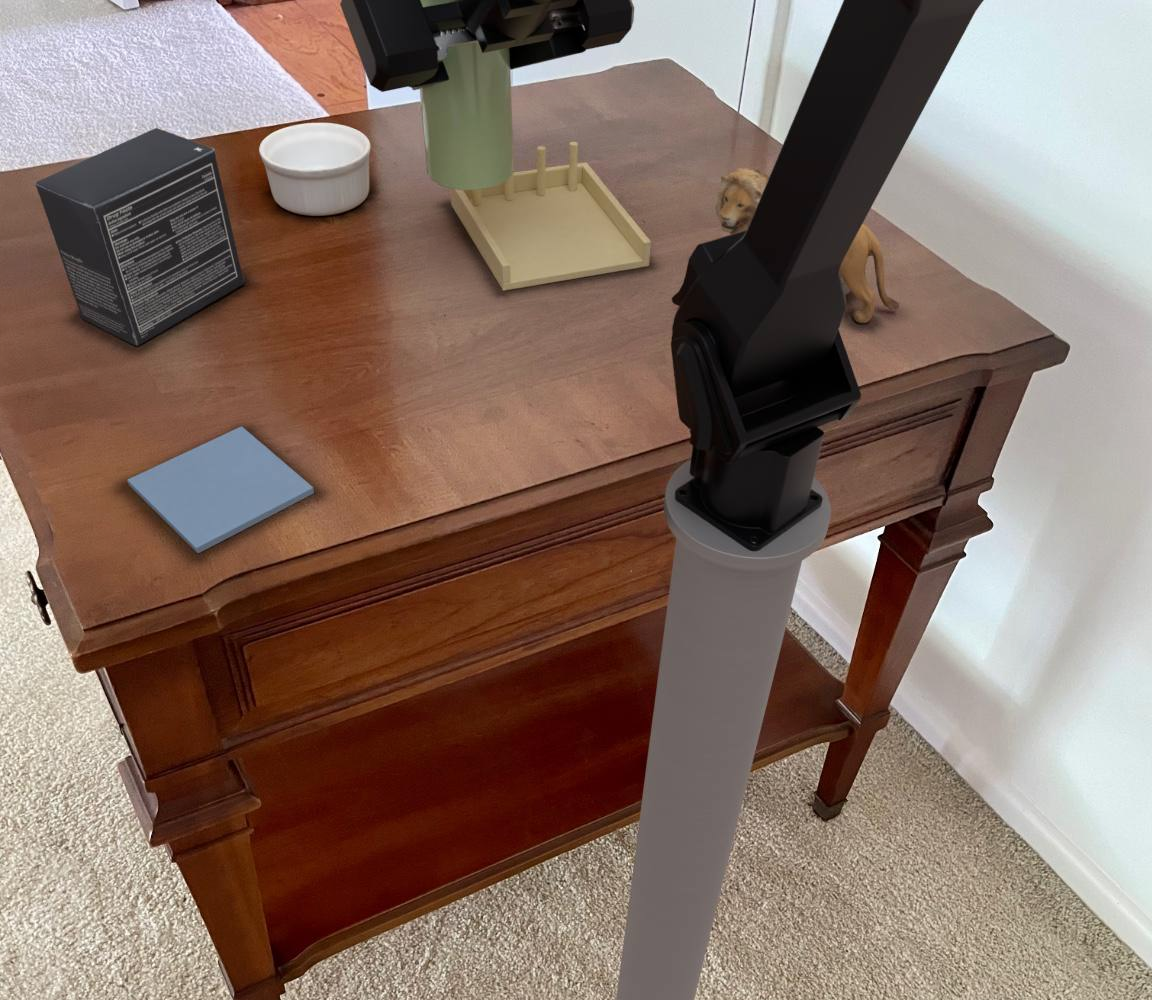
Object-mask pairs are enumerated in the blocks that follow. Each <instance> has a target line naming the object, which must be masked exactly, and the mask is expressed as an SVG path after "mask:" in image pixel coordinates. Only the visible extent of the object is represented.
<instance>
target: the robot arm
mask: <svg viewBox="0 0 1152 1000" xmlns="http://www.w3.org/2000/svg"><path fill="white" fill-rule="evenodd" d="M984 1H985V0H843V1H842V3H841V5H840V8H839V10H838V12H837V15H836V18H835V20H834V22H833V24H832V27H831V30H830V32H829V34H828V37H827V39H826V41H825V43H824V46H823V48H822V50H821V53H820V55H819V57H818V60H817V63H816V65H815V67H814V70H813V72H812V74H811V76H810V78H809V79H810V80H809V82H808V83H807V84H808V85H807V86H806V89H805V91H804V93H803V96H802V99H801V101H800V103H799V106H798V108H797V109H796V111H795V112H796V113H795V114H794V117H793V119H792V122H791V124H790V126H789V129H788V132H787V134H786V136H785V139H784V141H783V144H782V146H781V148H780V151H779V153H778V155H777V158H776V159H775V162H774V165H773V167H772V170H771V172H770V174H769V176H768V177H769V179H768V181H767V184H766V186H765V189H764V191H763V193H762V196H761V198H760V201H759V203H758V205H757V208H756V210H755V212H754V215H753V217H752V220H751V222H750V224H749V227H748V229H747V230H745V231H741V232H738V233H735V234H729V235H725V236H722V237H717V238H715V239H711V240H708V241H704V242H702V243H698V244H697V245H696V247H695V248H694V250H693V252H692V253H691V255H690V256H689V257H688V261H687V266H686V271H685V275H684V276H685V277H684V279H683V282H682V284H681V286H680V287H679V290H678V291H677V292H676V293H675V294H674V295H673V296H672V297H671V303H672V304H673V305H675V306H678V308H677V310H676V312H675V314H674V317H673V321H672V326H671V339H670V351H671V360H672V368H673V377H674V385H675V395H676V403H677V405H676V406H677V411H678V419H679V421H680V422H681V423H682V424H683V425H684V426H686V428H688V430H689V433H690V437H689V445H691V446H692V449H691V456H690V459H691V463H690V475H692V476H693V477H694V478H693V479H691V480H690V481H688V482H687V483H685V484H684V485H682V486H680V487H679V488H677V489H676V491H675V500H676V501H677V502H679V503H680V504H682V505H683V506H685V507H686V508H688V509H689V510H690V511H692V512H693V513H695V514H696V515H698V516H699V517H701V518H702V519H704V520H705V521H707V522H708V523H710V524H711V525H712V526H714V527H715V528H717V529H718V530H720V531H721V532H723V533H724V534H726V535H727V536H729V537H730V538H732V539H733V540H734V541H736V542H737V543H739V544H740V545H742V546H743V547H745V548H746V549H748V550H750V551H759V550H761V549H762V548H763V547H765V546H766V545H768V544H769V543H770V542H772V541H773V540H775V539H776V538H777V537H779V536H780V535H782V534H783V533H784V532H786V531H787V530H789V529H790V528H791V527H793V526H794V525H796V524H797V523H798V522H800V521H801V520H803V519H804V518H805V517H807V516H808V515H810V514H811V513H812V512H814V511H815V510H817V509H818V508H819V507H820V506H821V504H822V500H823V498H822V496H821V495H820V494H818V493H817V492H815V491H813V490H812V489H811V487H812V483H813V479H814V477H815V474H816V470H817V466H818V461H819V458H820V454H821V449H822V445H823V440H824V436H825V431H824V430H822V429H821V428H819V427H821V426H824V425H827V424H830V423H832V422H835V421H837V420H838V421H843V420H844V419H847V418H848V417H850V414H851V413H852V412H853V410H854V409H855V408H856V406H857V405H858V404H859V402H860V400H861V398H862V394H861V390H860V387H859V384H858V381H857V378H856V375H855V372H854V369H853V368H852V364H851V361H850V358H849V355H848V352H847V350H846V349H847V348H846V347H845V344H844V341H843V338H842V335H841V332H840V330H839V329H840V327H841V323H842V321H843V318H844V315H845V312H846V309H847V305H848V304H847V303H848V301H847V296H846V295H845V292H844V287H843V284H844V282H843V280H842V278H841V273H840V266H841V263H842V261H843V259H844V257H845V255H846V254H847V252H848V250H849V248H850V246H851V244H852V242H853V240H854V239H855V237H856V235H857V233H858V231H859V229H860V227H861V225H862V224H863V223H864V222H865V220H866V218H867V217H868V215H869V212H870V211H871V208H872V207H873V205H874V203H875V201H876V199H877V197H878V195H879V194H880V192H881V190H882V188H883V186H884V184H885V183H886V180H887V178H888V176H889V175H890V173H891V171H892V169H893V167H894V166H895V164H896V161H897V160H898V158H899V157H900V154H901V152H902V151H903V149H904V147H905V145H906V143H907V141H908V139H909V137H910V136H911V133H912V132H913V130H914V128H915V126H916V124H917V122H918V120H919V119H920V117H921V115H922V113H923V111H924V109H925V108H926V106H927V104H928V101H929V100H930V98H931V96H932V94H933V92H934V91H935V89H936V87H937V85H938V84H939V81H940V79H941V78H942V76H943V73H944V72H945V70H946V68H947V65H948V64H949V63H950V61H951V58H952V57H953V55H954V54H955V51H956V49H957V47H958V46H959V44H960V42H961V40H962V38H963V36H964V35H965V32H966V31H967V29H968V27H969V25H970V22H971V21H972V19H973V17H974V15H975V14H976V12H977V10H978V9H979V8H980V6H981V5H982V3H983V2H984ZM339 5H340V8H341V11H342V14H343V16H344V19H345V22H346V25H347V27H348V29H349V31H350V35H351V38H352V40H353V43H354V45H355V48H356V50H357V53H358V56H359V59H360V62H361V64H362V67H363V69H364V72H365V74H366V78H367V80H368V82H369V85H370V86H371V87H373V88H374V89H376V90H378V91H379V92H381V93H384V92H388V91H389V92H390V91H394V90H399V89H404V88H411V90H412V91H417V90H420V89H421V88H425V87H428V86H432V85H435V84H438V83H442V82H445V81H448V80H449V76H448V73H447V71H446V68H445V65H444V63H443V60H444V59H445V57H446V56H447V53H448V48H452V47H457V46H463V45H468V44H473V43H478V42H479V45H480V48H481V50H482V53H485V52H490V51H495V50H500V49H505V48H510V70H511V71H512V70H515V69H520V68H524V67H529V66H532V65H537V64H540V63H544V62H550V61H553V60H556V59H561V58H566V57H570V56H574V55H577V54H578V55H579V54H583V53H585V52H586V51H588V50H591V49H596V48H600V47H601V48H602V47H607V46H611V45H615V44H619V43H621V42H622V41H623V39H624V38H625V37H626V36H627V34H628V33H629V32H630V31H631V30H632V27H633V24H634V22H635V21H634V20H635V6H634V3H633V0H455V2H450V3H444V4H439V5H433V6H428V7H423V6H422V3H421V0H341V1H340V3H339ZM466 28H467V29H466ZM461 29H462V31H461ZM455 30H456V31H455ZM449 31H451V33H450V32H449ZM444 32H445V34H444ZM813 500H814V501H813ZM752 542H754V543H752Z"/></svg>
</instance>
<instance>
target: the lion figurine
mask: <svg viewBox="0 0 1152 1000" xmlns="http://www.w3.org/2000/svg"><path fill="white" fill-rule="evenodd" d="M769 177H770V176H768V175H767V174H765V173H763V172H761V171H760V170H759V169H756V170H754V169H751V168H750V167H746V168H744V167H739V168H736V169H734V170H733V171H730V172H729V173H728V175H722V176H721V182H720V188H719V190H718V191H719V192H718V194H717V198H716V202H715V206H714V209H715V213H716V216H717V219H718V221H719V223H720V224H721V230H722V231H723V232H724V233H728V234H729V235H731V234H735V233H738V232H741V231H745V230H747V229H748V227H749V224H750V222H751V220H752V217H753V215H754V212H755V210H756V208H757V205H758V203H759V201H760V198H761V196H762V193H763V191H764V189H765V186H766V184H767V181H768V179H769ZM870 256H872V258H873V265H874V272H875V281H876V288H877V292H878V296H879V298H880V300H881V302H882V304H883V305H884V306H885V307H886V308H888V310H898V309H899V308H900V303H899V302H898V301H896V300H895V299H893V298H891V297H889V296H888V295H887V292H886V288H885V264H884V255H883V250H882V247H881V244H880V242H879V240H878V238H877V237H876V235H875V234H874V232H873V230H872V228H871V227H870V226H869V225H867V224H866V223H864V222H863V224H862V225H861V227H860V229H859V231H858V233H857V235H856V237H855V239H854V240H853V242H852V244H851V246H850V248H849V250H848V252H847V254H846V255H845V257H844V259H843V261H842V263H841V266H840V273H841V278H842V282H843V287H844V292H845V296H846V295H847V294H849V293H850V292H851V293H852V294H853V295H854V296H855V297H856V298H857V299H858V301H860V303H861V305H862V307H863V308H862V309H856V310H855V311H854V312H853V313H852V315H853V319H854V321H855V322H857V324H867V323H868V322H869V321H870V320H871V319H872V317H873V315H874V312H875V292H874V291H873V290H872V289H871V287H870V285H869V283H868V280H867V279H868V278H867V275H866V266H867V262H868V258H869V257H870Z"/></svg>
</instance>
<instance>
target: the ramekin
mask: <svg viewBox="0 0 1152 1000" xmlns="http://www.w3.org/2000/svg"><path fill="white" fill-rule="evenodd" d="M258 152H259V155H260V159H261V161H262V163H263V165H264V168H265V172H266V176H267V180H268V183H269V187H270V191H271V195H272V197H273V200H274V201H275V203H276V204H277V205H279V206H280V207H281V208H282V209H285V210H286V211H288V212H290V213H294V214H298V215H303V216H310V217H320V216H332V215H337V214H338V215H339V214H341V213H345V212H348V211H351V210H353V209H354V208H356V207H358V206H360V205H361V204H362V203H363V202H364V201H365V200H366V199H367V198H368V196H369V192H370V154H371V142H370V140H369V138H368V136H367V135H365V133H363V132H361V131H360V130H358V129H355V128H353V127H351V126H347V125H344V124H339V123H333V122H307V123H300V124H294V125H290V126H287V127H282V128H280V129H278V130H275V131H273V132H272V133H270V134H269V135H267V136H265V137H264V139H263V140H262V141H261V142H260V145H259V149H258Z"/></svg>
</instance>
